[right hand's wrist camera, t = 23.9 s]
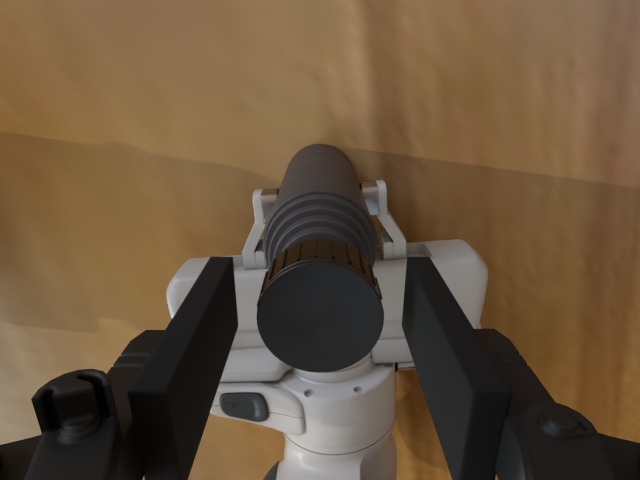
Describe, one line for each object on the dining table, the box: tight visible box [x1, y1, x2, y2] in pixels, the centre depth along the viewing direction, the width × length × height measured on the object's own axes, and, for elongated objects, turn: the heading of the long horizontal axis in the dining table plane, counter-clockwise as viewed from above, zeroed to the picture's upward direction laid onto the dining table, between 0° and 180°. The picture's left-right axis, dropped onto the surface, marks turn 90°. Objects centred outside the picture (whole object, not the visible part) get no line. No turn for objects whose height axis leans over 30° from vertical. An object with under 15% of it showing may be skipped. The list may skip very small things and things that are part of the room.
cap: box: [257, 238, 384, 373], centre depth 14 cm, size 4×4×2 cm
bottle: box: [263, 144, 378, 269], centre depth 22 cm, size 5×5×19 cm
